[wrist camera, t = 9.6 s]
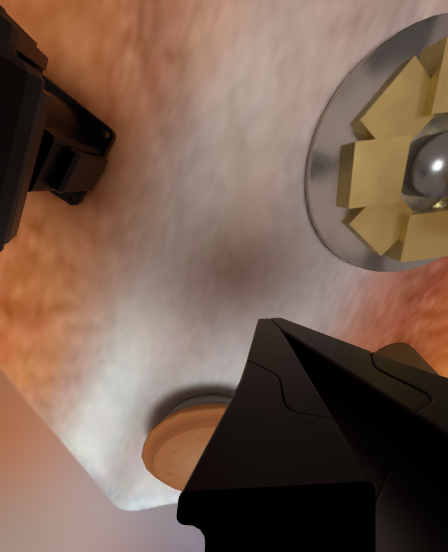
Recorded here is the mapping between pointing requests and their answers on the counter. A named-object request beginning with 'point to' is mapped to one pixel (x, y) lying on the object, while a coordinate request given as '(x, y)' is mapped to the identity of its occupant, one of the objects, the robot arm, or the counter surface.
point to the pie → (182, 438)
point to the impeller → (337, 131)
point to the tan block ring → (395, 162)
